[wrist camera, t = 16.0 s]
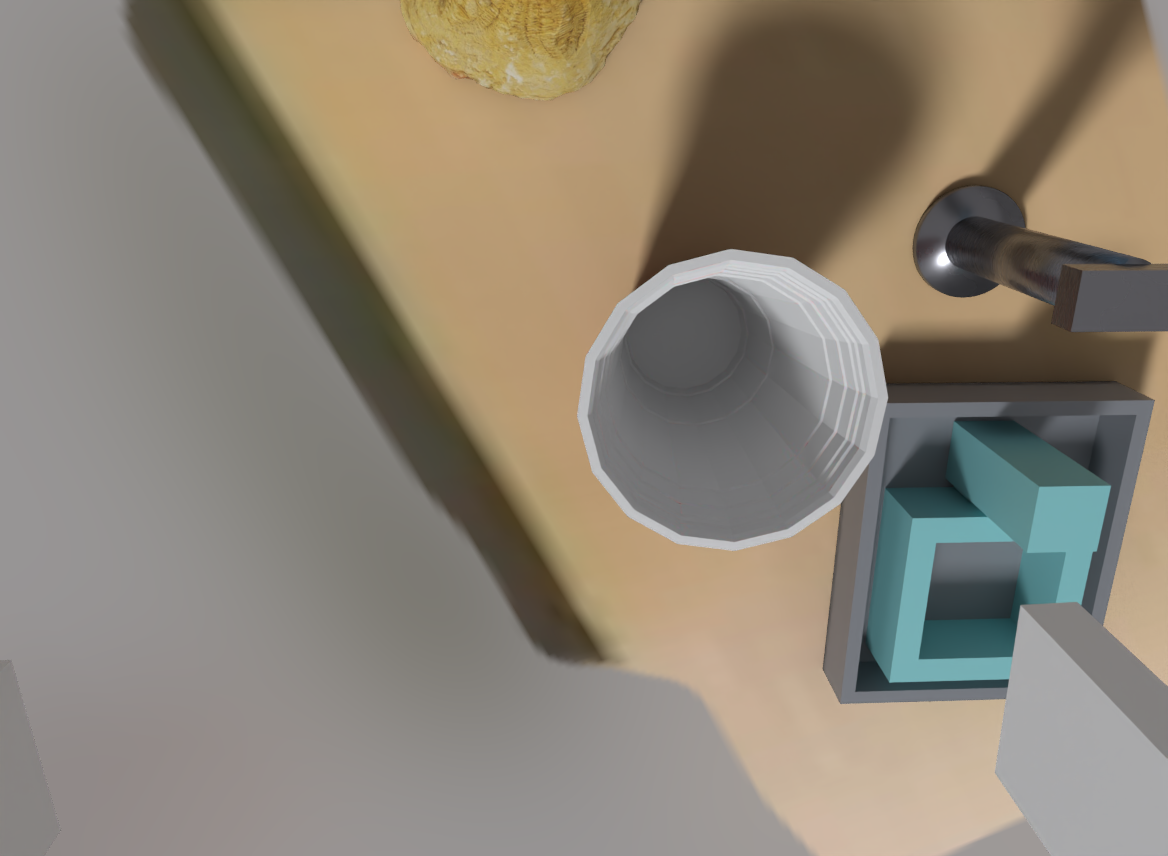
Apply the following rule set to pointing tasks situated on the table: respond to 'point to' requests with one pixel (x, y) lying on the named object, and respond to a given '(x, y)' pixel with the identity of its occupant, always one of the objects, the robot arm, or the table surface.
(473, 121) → the table surface
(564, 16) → the fossil
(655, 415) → the plastic cup
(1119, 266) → the t stake
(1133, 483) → the tray
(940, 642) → the tabbed collar
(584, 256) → the table surface
